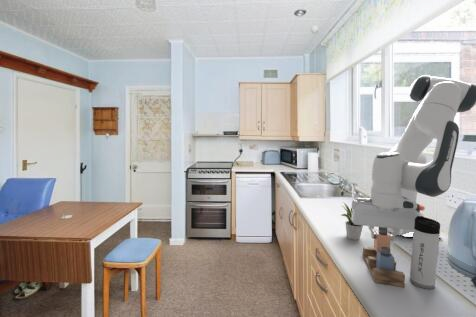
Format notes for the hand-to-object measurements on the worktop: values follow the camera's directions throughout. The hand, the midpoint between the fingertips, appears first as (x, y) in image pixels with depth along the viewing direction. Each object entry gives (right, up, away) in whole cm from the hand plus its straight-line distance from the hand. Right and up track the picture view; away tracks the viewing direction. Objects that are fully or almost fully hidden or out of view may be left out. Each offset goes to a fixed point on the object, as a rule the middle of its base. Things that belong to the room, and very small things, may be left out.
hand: (382, 239), depth 88 cm
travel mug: (+6, -10, -10) cm, 16 cm away
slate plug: (-3, -9, -6) cm, 11 cm away
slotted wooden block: (-2, -9, -2) cm, 10 cm away
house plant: (+1, -7, +23) cm, 24 cm away
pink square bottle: (0, -4, 0) cm, 4 cm away
